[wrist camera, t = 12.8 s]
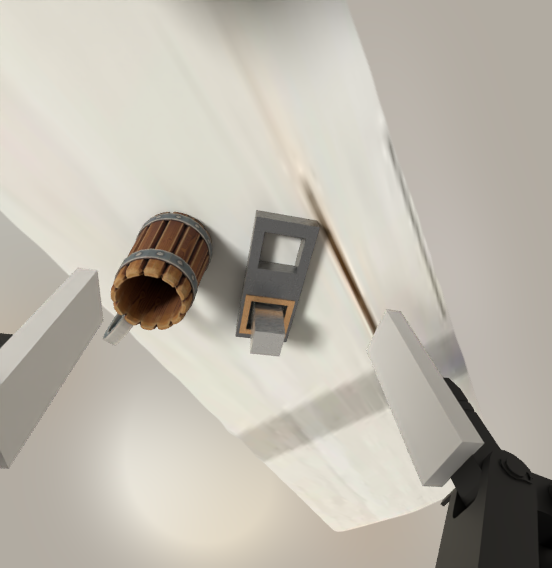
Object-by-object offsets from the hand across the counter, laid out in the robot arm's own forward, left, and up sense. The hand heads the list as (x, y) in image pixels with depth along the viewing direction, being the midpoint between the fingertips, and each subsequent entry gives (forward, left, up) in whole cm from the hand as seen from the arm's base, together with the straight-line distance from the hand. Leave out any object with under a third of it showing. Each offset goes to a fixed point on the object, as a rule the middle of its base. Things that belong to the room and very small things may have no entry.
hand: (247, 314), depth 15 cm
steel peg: (+23, +6, -32) cm, 40 cm away
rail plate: (+17, +6, -32) cm, 36 cm away
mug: (+15, -11, -32) cm, 37 cm away
